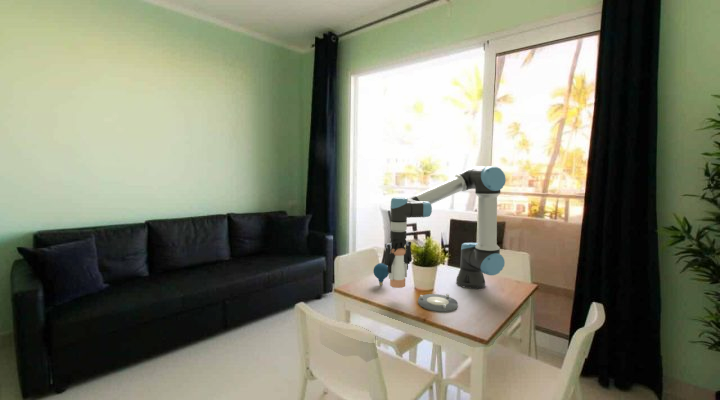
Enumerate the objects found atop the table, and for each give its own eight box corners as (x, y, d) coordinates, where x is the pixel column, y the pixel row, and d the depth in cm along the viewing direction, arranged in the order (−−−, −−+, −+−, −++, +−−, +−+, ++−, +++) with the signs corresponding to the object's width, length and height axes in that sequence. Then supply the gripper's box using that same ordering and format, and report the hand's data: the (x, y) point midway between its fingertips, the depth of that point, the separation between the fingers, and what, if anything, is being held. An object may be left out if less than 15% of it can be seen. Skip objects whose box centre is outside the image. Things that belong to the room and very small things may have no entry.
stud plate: (447, 295, 164) (447, 290, 164) (464, 310, 146) (465, 305, 146) (412, 297, 161) (413, 291, 161) (426, 312, 143) (426, 306, 143)
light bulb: (381, 281, 183) (382, 260, 182) (391, 286, 176) (392, 264, 175) (369, 284, 178) (370, 262, 177) (380, 289, 171) (380, 266, 170)
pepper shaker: (406, 283, 160) (407, 244, 158) (404, 288, 153) (404, 248, 151) (391, 282, 162) (392, 243, 160) (388, 287, 155) (389, 247, 153)
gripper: (410, 227, 163) (409, 272, 165) (376, 231, 153) (375, 278, 155) (420, 229, 156) (419, 276, 159) (384, 233, 147) (384, 283, 149)
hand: (397, 277), depth 157 cm, fingers closed on pepper shaker, 7 cm apart
